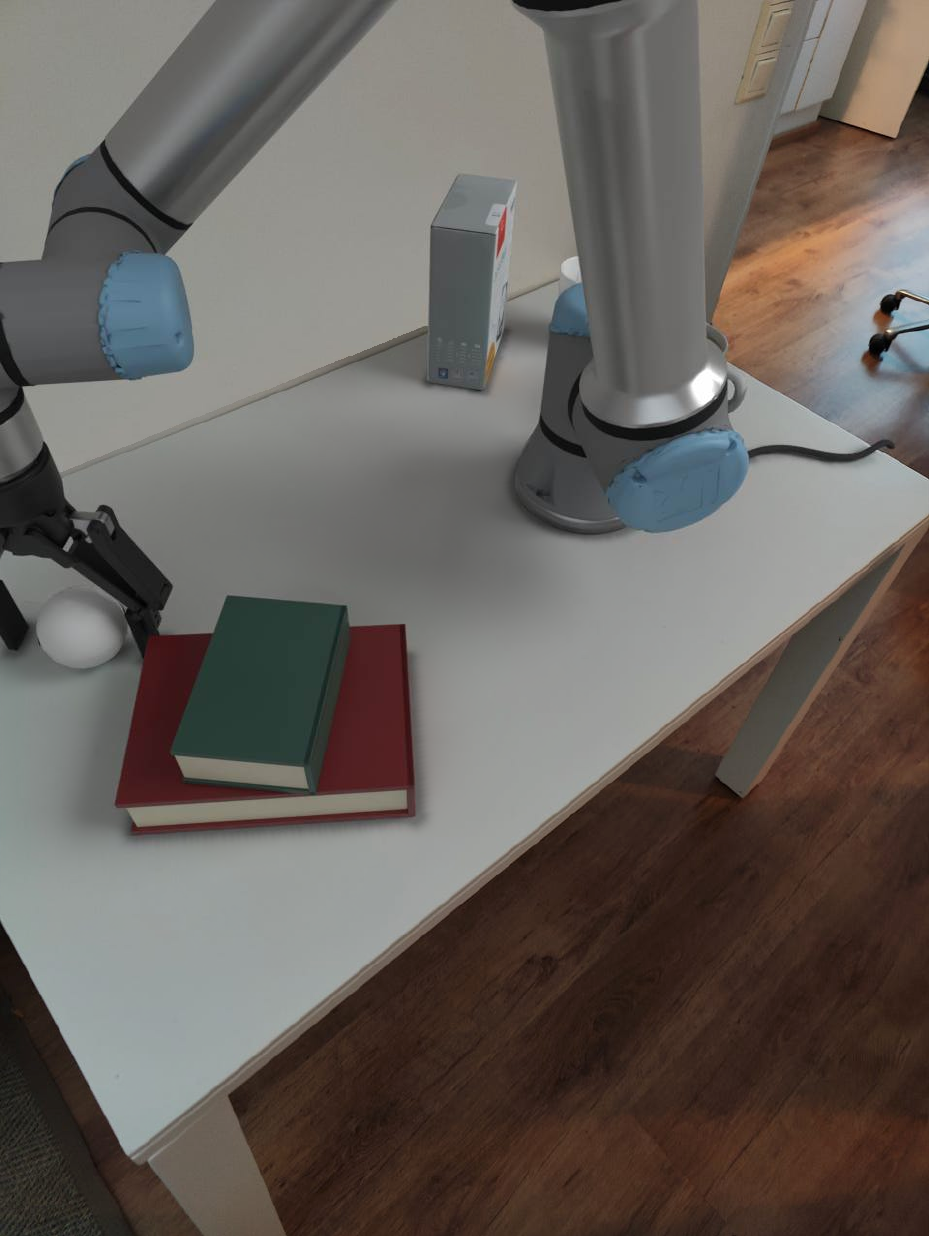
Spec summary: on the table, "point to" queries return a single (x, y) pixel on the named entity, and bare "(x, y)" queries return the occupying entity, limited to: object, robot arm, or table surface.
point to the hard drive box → (469, 279)
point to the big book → (348, 790)
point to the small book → (265, 696)
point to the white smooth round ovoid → (81, 627)
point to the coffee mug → (729, 368)
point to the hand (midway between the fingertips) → (86, 644)
